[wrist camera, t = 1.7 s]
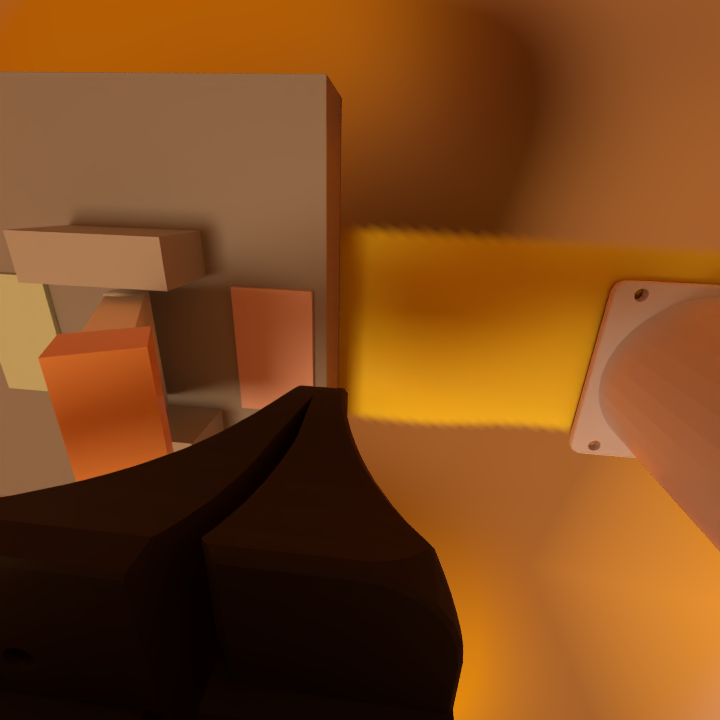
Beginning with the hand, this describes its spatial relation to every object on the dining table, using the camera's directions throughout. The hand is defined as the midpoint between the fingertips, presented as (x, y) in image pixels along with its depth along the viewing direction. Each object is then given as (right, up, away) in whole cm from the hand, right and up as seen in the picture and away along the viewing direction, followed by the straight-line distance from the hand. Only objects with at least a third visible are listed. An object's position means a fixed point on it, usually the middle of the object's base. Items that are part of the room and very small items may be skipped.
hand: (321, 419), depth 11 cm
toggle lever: (-7, +2, +4) cm, 8 cm away
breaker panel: (-9, +4, +8) cm, 12 cm away
